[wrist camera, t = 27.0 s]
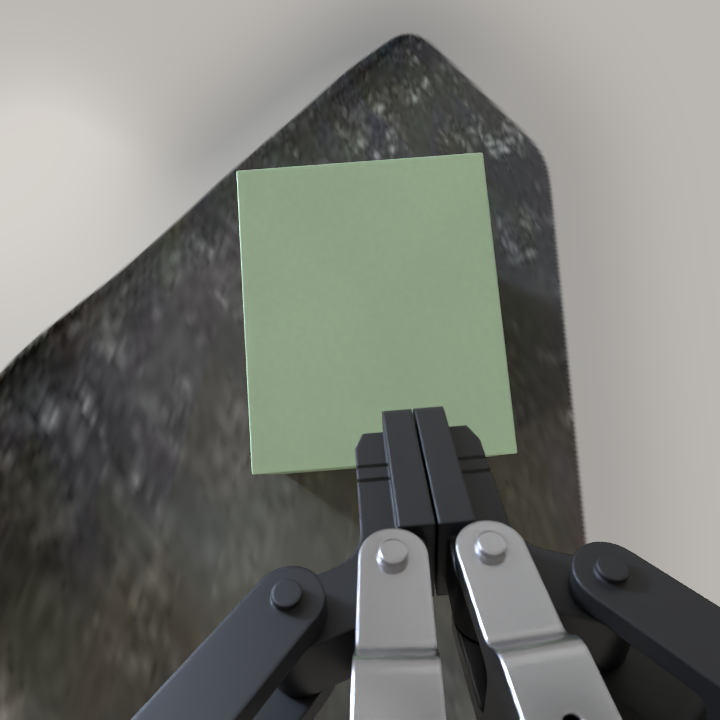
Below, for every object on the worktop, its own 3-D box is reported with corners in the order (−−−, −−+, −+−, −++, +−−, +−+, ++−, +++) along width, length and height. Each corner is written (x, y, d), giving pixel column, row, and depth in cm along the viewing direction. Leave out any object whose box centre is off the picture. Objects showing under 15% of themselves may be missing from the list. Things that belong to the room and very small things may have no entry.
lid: (239, 177, 32) (236, 170, 32) (479, 159, 32) (482, 152, 32) (254, 473, 30) (251, 474, 29) (513, 452, 30) (517, 453, 29)
